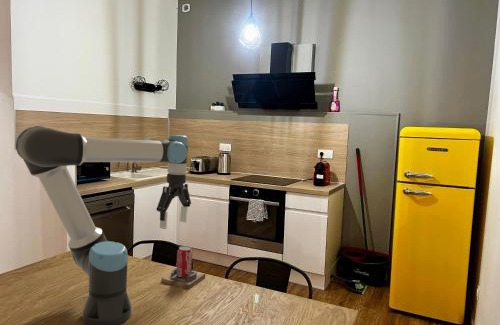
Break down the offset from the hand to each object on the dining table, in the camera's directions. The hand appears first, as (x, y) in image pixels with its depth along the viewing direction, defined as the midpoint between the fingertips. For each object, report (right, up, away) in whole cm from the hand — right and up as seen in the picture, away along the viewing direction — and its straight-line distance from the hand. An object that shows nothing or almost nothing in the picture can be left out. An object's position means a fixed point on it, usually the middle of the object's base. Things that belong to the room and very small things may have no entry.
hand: (173, 225), depth 150 cm
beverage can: (+4, -22, +3) cm, 22 cm away
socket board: (+4, -23, +3) cm, 24 cm away
